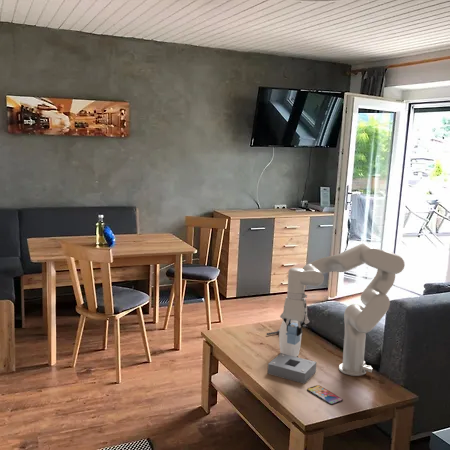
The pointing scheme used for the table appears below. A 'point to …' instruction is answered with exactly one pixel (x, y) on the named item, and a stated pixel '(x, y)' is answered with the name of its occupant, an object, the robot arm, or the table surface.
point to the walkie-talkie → (275, 332)
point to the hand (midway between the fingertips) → (293, 333)
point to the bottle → (286, 347)
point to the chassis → (292, 368)
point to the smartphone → (324, 395)
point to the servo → (292, 334)
